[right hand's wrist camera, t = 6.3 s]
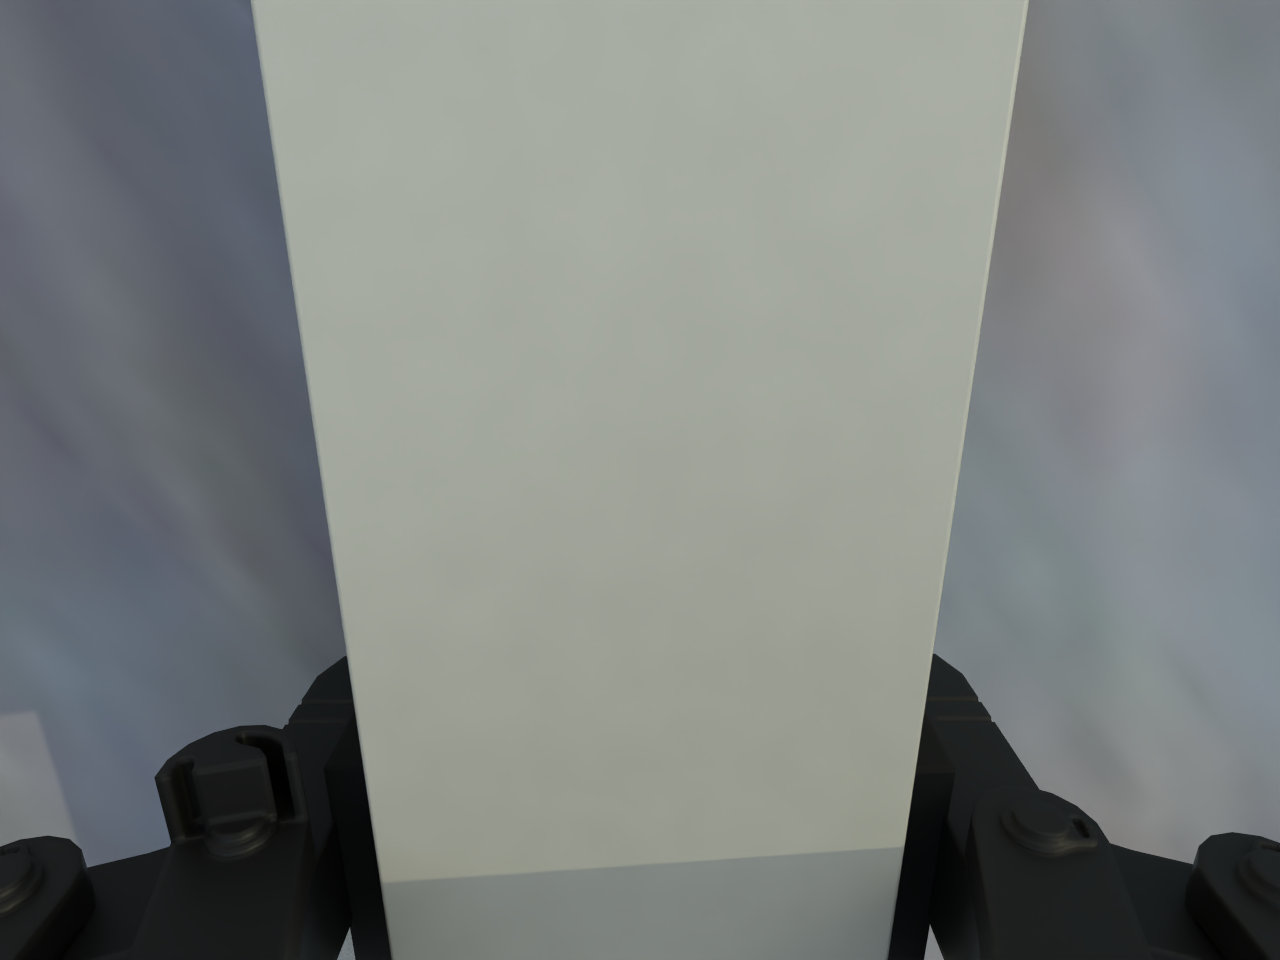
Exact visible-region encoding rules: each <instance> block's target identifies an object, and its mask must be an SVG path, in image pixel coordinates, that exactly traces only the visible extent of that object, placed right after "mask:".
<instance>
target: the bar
mask: <svg viewBox="0 0 1280 960" xmlns="http://www.w3.org/2000/svg"><path fill="white" fill-rule="evenodd" d="M1028 3H1029V0H251V7H252V14H253V21H254V28H255V34H256V41H257V48H258V55H259V62H260V68H261V75H262V82H263V89H264V96H265V102H266V109H267V116H268V123H269V130H270V136H271V143H272V150H273V157H274V164H275V170H276V177H277V184H278V191H279V197H280V204H281V211H282V218H283V225H284V231H285V238H286V245H287V252H288V259H289V265H290V272H291V279H292V286H293V293H294V299H295V306H296V313H297V320H298V327H299V333H300V340H301V347H302V354H303V360H304V367H305V374H306V381H307V388H308V394H309V401H310V408H311V415H312V422H313V428H314V435H315V442H316V449H317V456H318V462H319V469H320V476H321V483H322V490H323V496H324V503H325V510H326V517H327V524H328V530H329V537H330V544H331V551H332V557H333V564H334V571H335V578H336V585H337V591H338V598H339V605H340V612H341V619H342V625H343V632H344V639H345V646H346V653H347V659H348V666H349V673H350V680H351V687H352V693H353V700H354V707H355V714H356V720H357V727H358V734H359V741H360V748H361V754H362V761H363V768H364V775H365V782H366V788H367V795H368V802H369V809H370V816H371V822H372V829H373V836H374V843H375V850H376V856H377V863H378V870H379V877H380V884H381V890H382V897H383V904H384V911H385V917H386V924H387V931H388V938H389V945H390V951H391V958H392V960H888V954H889V947H890V941H891V934H892V927H893V920H894V913H895V907H896V900H897V893H898V886H899V879H900V873H901V866H902V859H903V852H904V845H905V839H906V832H907V825H908V818H909V811H910V805H911V798H912V791H913V784H914V777H915V771H916V764H917V757H918V750H919V743H920V737H921V730H922V723H923V716H924V709H925V703H926V696H927V689H928V682H929V675H930V669H931V662H932V655H933V648H934V641H935V635H936V628H937V621H938V614H939V608H940V601H941V594H942V587H943V580H944V574H945V567H946V560H947V553H948V546H949V540H950V533H951V526H952V519H953V512H954V506H955V499H956V492H957V485H958V478H959V472H960V465H961V458H962V451H963V444H964V438H965V431H966V424H967V417H968V410H969V404H970V397H971V390H972V383H973V376H974V370H975V363H976V356H977V349H978V342H979V336H980V329H981V322H982V315H983V309H984V302H985V295H986V288H987V281H988V275H989V268H990V261H991V254H992V247H993V241H994V234H995V227H996V220H997V213H998V207H999V200H1000V193H1001V186H1002V179H1003V173H1004V166H1005V159H1006V152H1007V145H1008V139H1009V132H1010V125H1011V118H1012V111H1013V105H1014V98H1015V91H1016V84H1017V77H1018V71H1019V64H1020V57H1021V50H1022V43H1023V37H1024V30H1025V23H1026V16H1027V9H1028Z"/></svg>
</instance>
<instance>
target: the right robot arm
mask: <svg viewBox="0 0 1280 960" xmlns="http://www.w3.org/2000/svg"><path fill="white" fill-rule="evenodd" d="M154 778H155V781H156V785H157V789H158V793H159V797H160V801H161V805H162V808H163V812H164V816H165V820H166V824H167V828H168V831H169V835H170V839H171V845H170V847H167V848H164V849H160V850H157V851H154V852H151V853H147V854H143V855H139V856H135V857H130V858H126V859H122V860H118V861H114V862H109V863H105V864H101V865H97V866H92V867H88V868H87V866H86V863H85V859H84V856H83V853H82V850H81V849H80V848H79V847H78V846H77V845H76V844H74V843H73V842H72V841H71V840H70V839H66V838H60V837H53V836H42V837H35V838H28V839H21V840H18V841H15V842H12V843H9V844H7V845H4V846H1V847H0V960H337V958H338V956H339V953H340V951H341V948H342V945H343V943H344V940H345V938H346V935H347V933H348V930H349V928H350V929H351V935H352V941H353V947H354V953H355V959H356V960H392V958H391V951H390V945H389V938H388V931H387V924H386V917H385V911H384V904H383V897H382V890H381V884H380V877H379V870H378V863H377V856H376V850H375V843H374V836H373V829H372V822H371V816H370V809H369V802H368V795H367V788H366V782H365V775H364V768H363V761H362V754H361V748H360V741H359V734H358V727H357V720H356V714H355V707H354V700H353V693H352V687H351V680H350V673H349V666H348V659H347V656H344V657H343V658H342V659H340V660H339V661H338V662H336V663H335V664H334V665H332V666H331V667H330V668H328V669H327V670H326V671H324V672H323V673H321V674H320V675H319V676H317V678H316V679H315V681H314V682H313V684H312V685H311V687H310V688H309V690H308V691H307V693H306V694H305V696H304V697H303V699H302V704H301V705H298V707H297V708H296V710H295V711H294V713H293V714H292V716H291V717H290V719H289V724H288V725H285V726H284V728H283V729H278V728H274V727H270V726H267V725H251V726H238V727H234V728H230V729H226V730H222V731H218V732H214V733H212V734H210V735H208V736H205V737H203V738H201V739H199V740H197V741H195V742H192V743H190V744H188V745H187V746H186V747H184V748H183V749H181V750H180V751H179V752H177V753H176V754H175V755H173V756H172V757H171V758H169V759H168V760H167V761H166V763H165V764H164V765H163V767H162V768H161V769H160V771H159V772H158V773H157V775H156V776H155V777H154ZM930 925H931V928H932V930H933V933H934V935H935V938H936V940H937V943H938V945H939V948H940V950H941V953H942V956H943V958H944V960H1280V843H1278V842H1275V841H1272V840H1270V839H1267V838H1264V837H1261V836H1255V835H1248V834H1241V833H1234V832H1231V833H1224V834H1218V835H1212V836H1210V837H1209V838H1208V839H1207V840H1205V841H1204V842H1203V843H1202V844H1201V845H1200V846H1199V848H1198V851H1197V854H1196V857H1195V860H1194V864H1189V863H1185V862H1180V861H1176V860H1172V859H1168V858H1163V857H1159V856H1155V855H1151V854H1146V853H1142V852H1138V851H1134V850H1130V849H1127V848H1124V847H1120V846H1117V845H1114V844H1111V843H1109V841H1108V840H1107V838H1106V836H1105V835H1104V833H1103V832H1102V830H1101V829H1100V827H1099V826H1098V824H1097V823H1096V822H1095V821H1094V820H1093V819H1092V818H1090V817H1089V816H1088V815H1087V814H1086V813H1084V812H1083V811H1082V810H1081V809H1080V808H1079V807H1077V806H1076V805H1074V804H1072V803H1070V802H1068V801H1066V800H1064V799H1062V798H1060V797H1058V796H1057V795H1055V794H1053V793H1049V792H1046V791H1042V790H1039V788H1038V787H1037V785H1036V784H1035V782H1034V781H1033V779H1032V778H1031V776H1030V775H1029V773H1028V772H1027V770H1026V769H1025V767H1024V766H1023V764H1022V763H1021V761H1020V760H1019V758H1018V757H1017V755H1016V754H1015V752H1014V751H1013V749H1012V748H1011V746H1010V745H1009V743H1008V742H1007V740H1006V739H1005V737H1004V736H1003V734H1002V733H1001V731H1000V730H999V728H998V727H997V725H996V724H995V722H992V721H991V716H990V715H989V713H988V712H987V710H986V709H985V707H984V706H983V704H982V703H981V702H978V697H977V695H976V694H975V692H974V691H973V689H972V688H971V686H970V685H969V683H968V682H967V680H966V679H965V677H964V676H963V674H962V673H960V672H959V671H958V670H956V669H955V668H954V667H952V666H951V665H950V664H948V663H947V662H945V661H944V660H943V659H941V658H940V657H939V656H937V655H936V654H933V655H932V662H931V669H930V675H929V682H928V689H927V696H926V703H925V709H924V716H923V723H922V730H921V737H920V743H919V750H918V757H917V764H916V771H915V777H914V784H913V791H912V798H911V805H910V811H909V818H908V825H907V832H906V839H905V845H904V852H903V859H902V866H901V873H900V879H899V886H898V893H897V900H896V907H895V913H894V920H893V927H892V934H891V941H890V947H889V954H888V960H924V956H925V950H926V944H927V938H928V932H929V926H930Z"/></svg>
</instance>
